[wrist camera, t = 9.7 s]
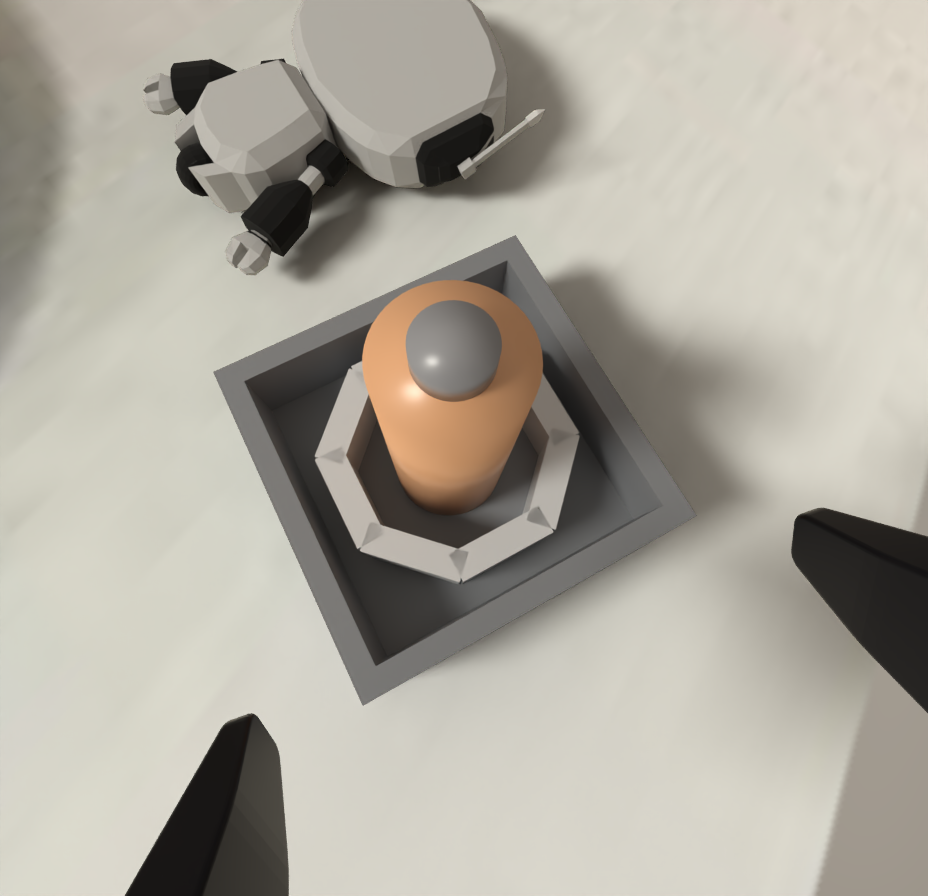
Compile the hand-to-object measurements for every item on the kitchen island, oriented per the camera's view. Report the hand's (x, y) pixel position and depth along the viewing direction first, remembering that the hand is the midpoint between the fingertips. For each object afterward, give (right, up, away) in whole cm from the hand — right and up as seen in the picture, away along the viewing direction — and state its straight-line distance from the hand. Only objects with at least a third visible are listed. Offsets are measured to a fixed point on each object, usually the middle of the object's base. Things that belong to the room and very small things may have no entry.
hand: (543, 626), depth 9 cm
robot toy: (-7, +17, +18) cm, 26 cm away
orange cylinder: (-2, +2, +13) cm, 13 cm away
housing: (-2, +2, +14) cm, 14 cm away
